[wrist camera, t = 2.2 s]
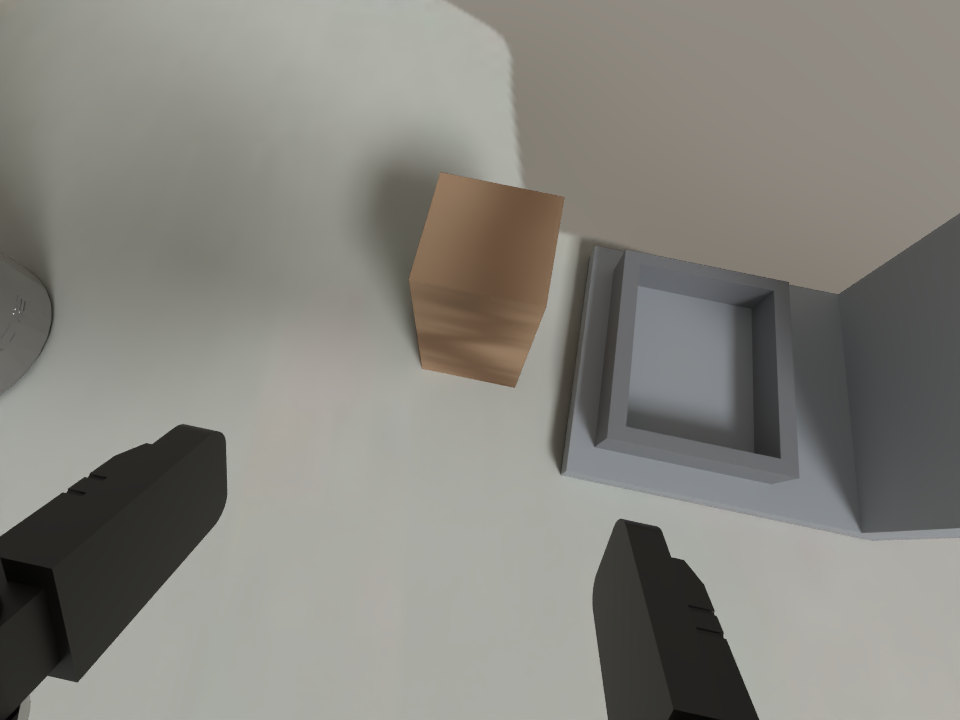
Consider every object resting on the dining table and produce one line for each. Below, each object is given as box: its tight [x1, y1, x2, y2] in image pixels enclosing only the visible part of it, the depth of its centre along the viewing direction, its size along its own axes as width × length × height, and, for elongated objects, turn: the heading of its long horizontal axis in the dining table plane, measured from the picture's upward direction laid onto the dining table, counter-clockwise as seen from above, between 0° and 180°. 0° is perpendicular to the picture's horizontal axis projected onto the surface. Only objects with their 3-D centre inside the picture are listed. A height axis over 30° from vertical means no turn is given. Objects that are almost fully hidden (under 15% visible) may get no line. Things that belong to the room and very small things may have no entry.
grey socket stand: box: [561, 214, 960, 541], centre depth 16 cm, size 16×13×21 cm
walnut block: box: [409, 172, 564, 388], centre depth 22 cm, size 5×6×9 cm
